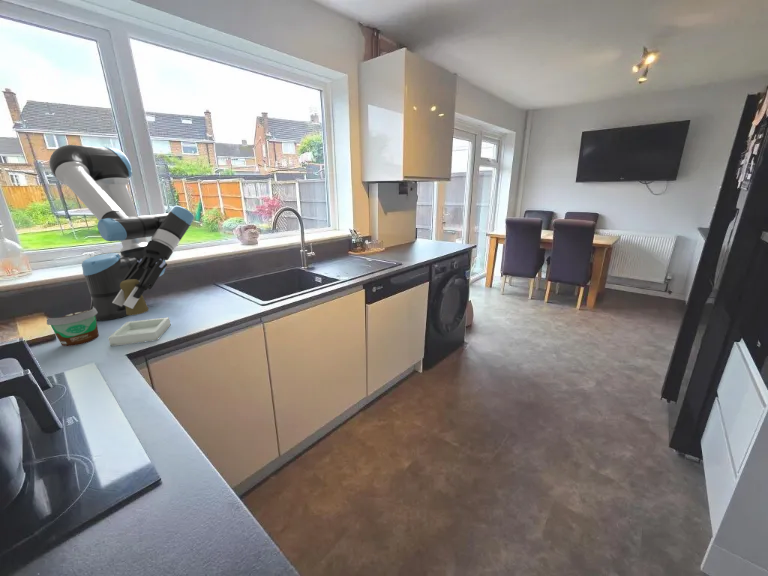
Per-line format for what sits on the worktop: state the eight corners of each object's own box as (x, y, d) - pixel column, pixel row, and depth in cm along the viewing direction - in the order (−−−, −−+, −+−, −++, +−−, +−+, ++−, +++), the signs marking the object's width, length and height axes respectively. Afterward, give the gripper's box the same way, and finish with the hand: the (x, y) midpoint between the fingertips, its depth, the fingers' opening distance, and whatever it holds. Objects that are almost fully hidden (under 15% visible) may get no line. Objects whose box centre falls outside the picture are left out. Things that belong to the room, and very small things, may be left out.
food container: (61, 351, 99) (51, 321, 96) (55, 347, 102) (44, 317, 99) (110, 336, 109) (102, 308, 106) (103, 332, 112) (94, 305, 109)
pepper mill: (136, 315, 104) (127, 282, 100) (121, 314, 105) (111, 282, 101) (153, 308, 109) (145, 277, 106) (138, 308, 110) (129, 277, 107)
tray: (129, 329, 114) (127, 321, 113) (170, 324, 117) (168, 317, 117) (110, 346, 102) (108, 337, 101) (157, 340, 106) (155, 332, 105)
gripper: (188, 253, 112) (150, 314, 102) (155, 250, 119) (117, 307, 109) (169, 240, 105) (128, 303, 96) (136, 238, 113) (94, 297, 103)
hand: (122, 305), depth 103 cm, fingers closed on pepper mill, 5 cm apart
